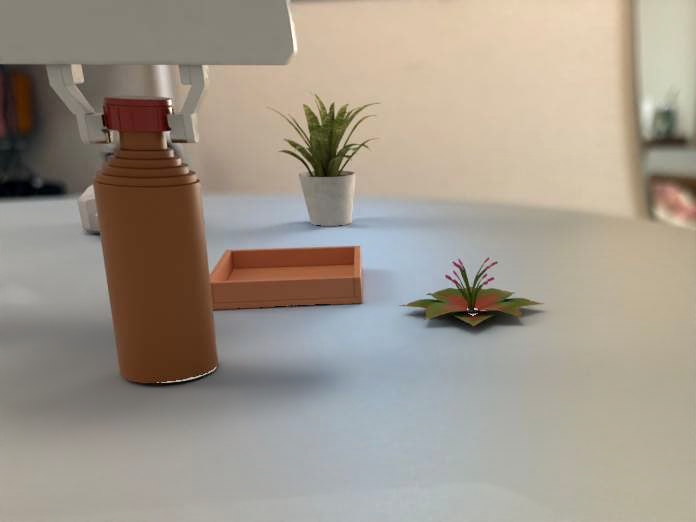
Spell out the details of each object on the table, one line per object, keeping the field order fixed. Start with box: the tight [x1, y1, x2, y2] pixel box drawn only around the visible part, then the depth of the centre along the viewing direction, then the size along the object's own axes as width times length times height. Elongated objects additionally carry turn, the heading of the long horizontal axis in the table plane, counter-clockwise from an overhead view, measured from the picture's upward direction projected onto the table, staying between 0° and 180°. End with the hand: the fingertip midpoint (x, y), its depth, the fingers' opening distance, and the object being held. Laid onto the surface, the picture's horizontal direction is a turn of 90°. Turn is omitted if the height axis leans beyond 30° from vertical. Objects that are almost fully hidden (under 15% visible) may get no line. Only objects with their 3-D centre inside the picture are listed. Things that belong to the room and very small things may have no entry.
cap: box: [102, 94, 175, 132], centre depth 54 cm, size 4×4×2 cm
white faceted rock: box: [77, 184, 100, 235], centre depth 104 cm, size 5×9×15 cm
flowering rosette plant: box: [399, 256, 544, 327], centre depth 73 cm, size 12×12×5 cm
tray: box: [209, 245, 363, 311], centre depth 81 cm, size 13×13×2 cm
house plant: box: [266, 91, 380, 227], centre depth 108 cm, size 14×14×16 cm
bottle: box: [92, 131, 219, 384], centre depth 57 cm, size 6×6×18 cm
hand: (143, 143), depth 54 cm, fingers closed on cap, 4 cm apart
